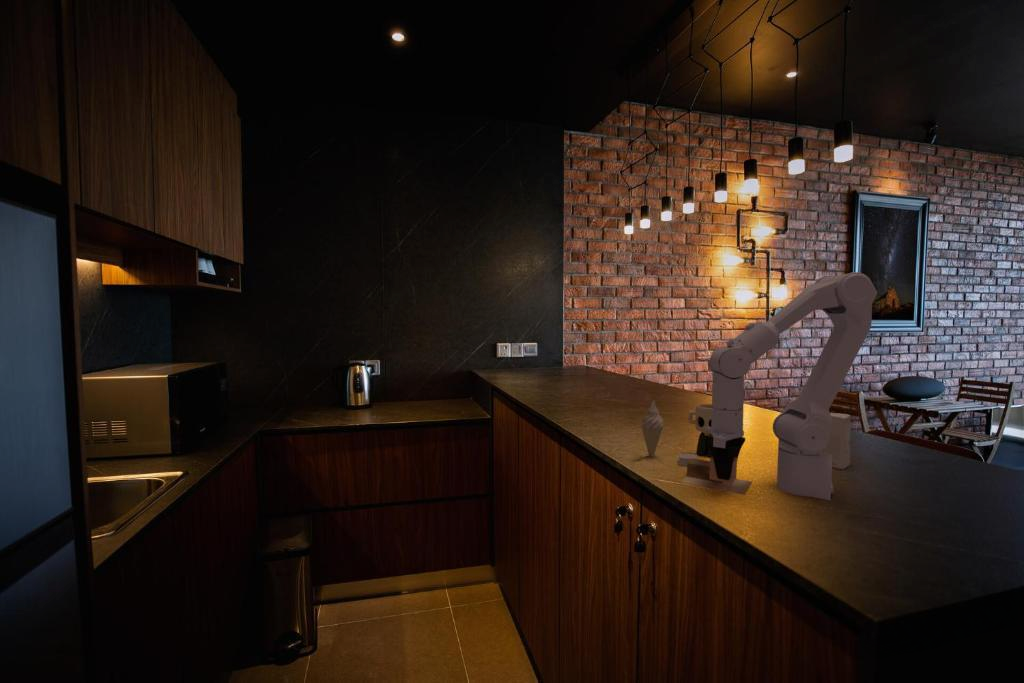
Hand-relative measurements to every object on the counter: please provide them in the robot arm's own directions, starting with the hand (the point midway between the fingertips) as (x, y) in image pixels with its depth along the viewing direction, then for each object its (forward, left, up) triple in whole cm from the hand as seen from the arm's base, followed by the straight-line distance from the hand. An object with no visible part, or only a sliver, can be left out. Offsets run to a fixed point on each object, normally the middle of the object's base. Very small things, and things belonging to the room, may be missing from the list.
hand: (725, 475), depth 96 cm
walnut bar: (+5, -5, -3) cm, 7 cm away
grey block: (+10, -11, -4) cm, 16 cm away
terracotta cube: (+1, 0, -1) cm, 1 cm away
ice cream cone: (+19, -12, -4) cm, 23 cm away
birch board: (+2, -2, -3) cm, 5 cm away
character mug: (+8, -23, -4) cm, 25 cm away
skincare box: (-18, -35, -4) cm, 40 cm away
